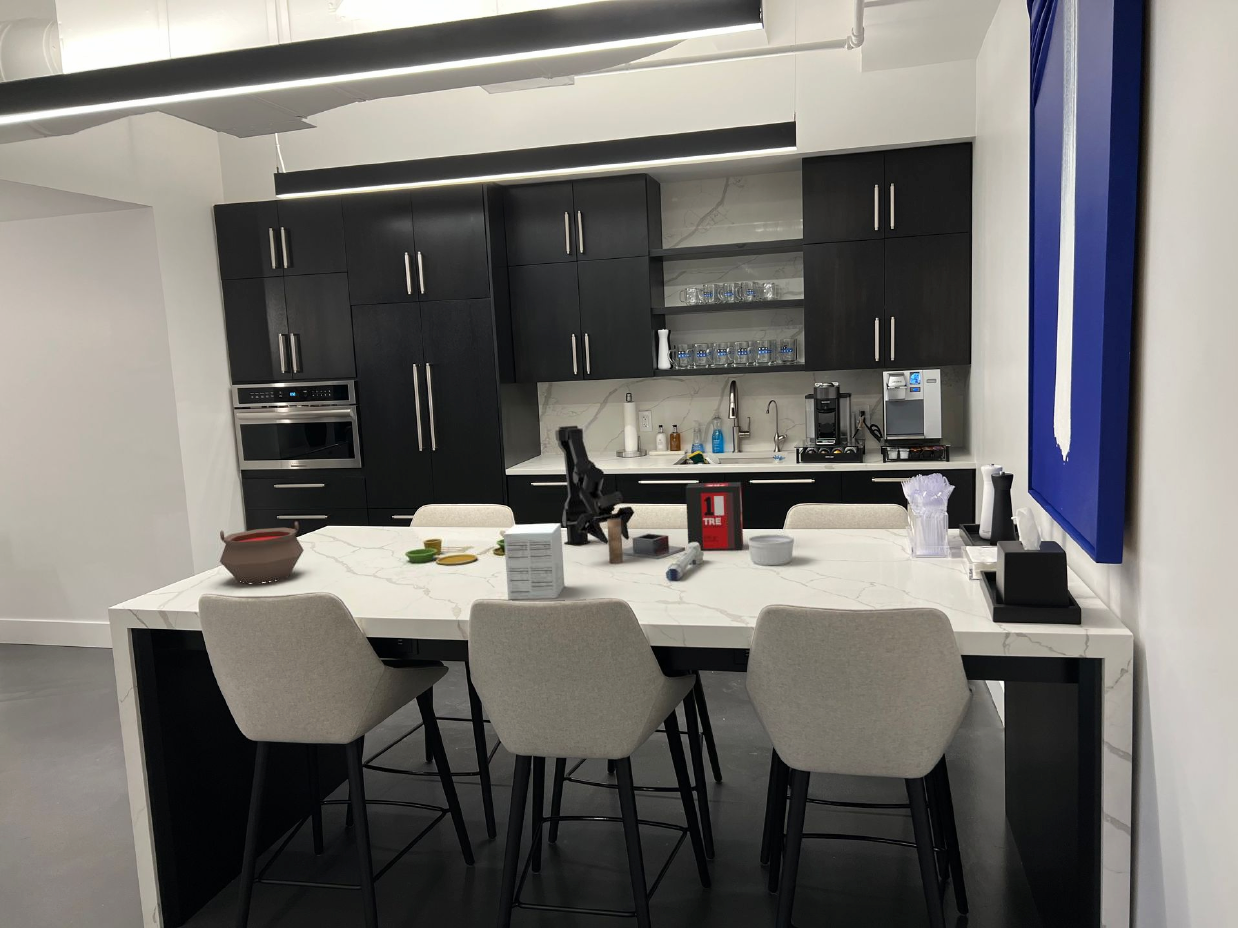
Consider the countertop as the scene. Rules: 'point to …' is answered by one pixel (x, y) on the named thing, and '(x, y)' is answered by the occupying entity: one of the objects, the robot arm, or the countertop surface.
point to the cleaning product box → (715, 516)
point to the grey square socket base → (651, 547)
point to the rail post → (615, 540)
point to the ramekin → (771, 549)
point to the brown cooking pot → (261, 554)
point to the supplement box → (534, 561)
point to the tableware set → (435, 547)
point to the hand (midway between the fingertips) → (617, 540)
